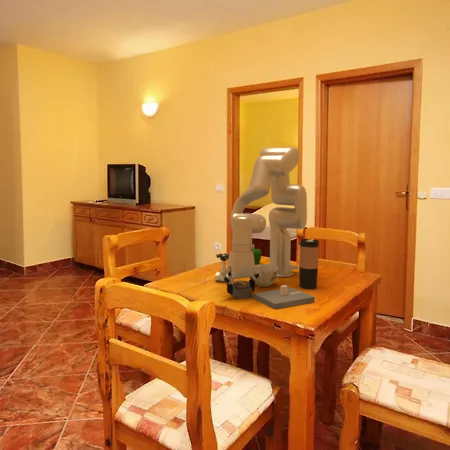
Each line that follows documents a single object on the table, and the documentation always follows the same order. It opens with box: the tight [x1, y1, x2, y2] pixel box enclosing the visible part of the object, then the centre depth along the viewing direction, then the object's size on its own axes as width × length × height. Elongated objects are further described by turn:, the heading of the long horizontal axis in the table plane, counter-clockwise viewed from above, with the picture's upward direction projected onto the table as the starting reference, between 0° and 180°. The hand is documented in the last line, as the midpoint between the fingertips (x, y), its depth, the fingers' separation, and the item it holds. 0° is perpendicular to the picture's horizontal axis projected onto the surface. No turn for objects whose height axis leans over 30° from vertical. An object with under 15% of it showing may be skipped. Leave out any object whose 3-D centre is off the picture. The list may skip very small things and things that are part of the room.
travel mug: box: [298, 238, 320, 290], centre depth 172 cm, size 8×8×20 cm
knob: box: [230, 280, 253, 301], centre depth 158 cm, size 7×7×6 cm
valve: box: [215, 252, 230, 283], centre depth 179 cm, size 7×7×12 cm
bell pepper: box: [252, 247, 262, 265], centre depth 213 cm, size 8×8×10 cm
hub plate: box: [252, 284, 315, 310], centre depth 154 cm, size 18×14×6 cm
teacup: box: [254, 263, 279, 288], centre depth 174 cm, size 15×12×8 cm
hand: (241, 292), depth 158 cm, fingers open, 9 cm apart
